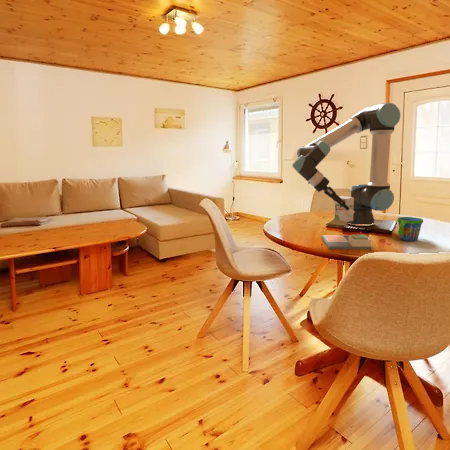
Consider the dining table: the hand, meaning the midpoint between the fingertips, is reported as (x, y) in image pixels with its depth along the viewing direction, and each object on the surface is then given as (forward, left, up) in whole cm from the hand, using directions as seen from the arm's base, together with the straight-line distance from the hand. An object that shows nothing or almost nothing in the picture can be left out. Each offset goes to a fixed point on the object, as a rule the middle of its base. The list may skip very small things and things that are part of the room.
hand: (350, 212), depth 180 cm
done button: (+1, +23, -9) cm, 25 cm away
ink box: (+3, 0, -4) cm, 5 cm away
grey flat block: (+6, +16, -12) cm, 21 cm away
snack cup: (-25, +10, -12) cm, 30 cm away
